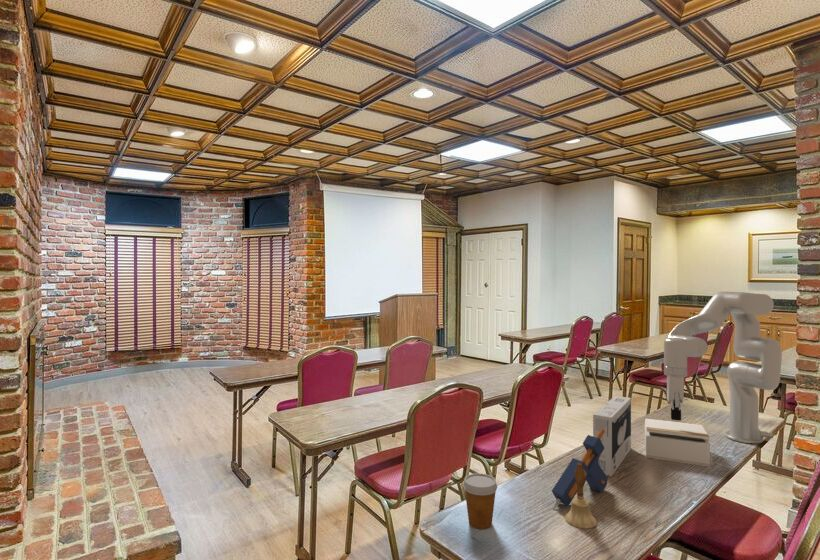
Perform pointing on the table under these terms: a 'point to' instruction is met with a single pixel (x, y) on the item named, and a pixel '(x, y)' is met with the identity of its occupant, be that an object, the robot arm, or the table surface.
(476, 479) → the disposable coffee cup
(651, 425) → the lid
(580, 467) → the hand bell
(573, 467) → the glue gun
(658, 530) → the table surface
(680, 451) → the box
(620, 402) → the packaging
